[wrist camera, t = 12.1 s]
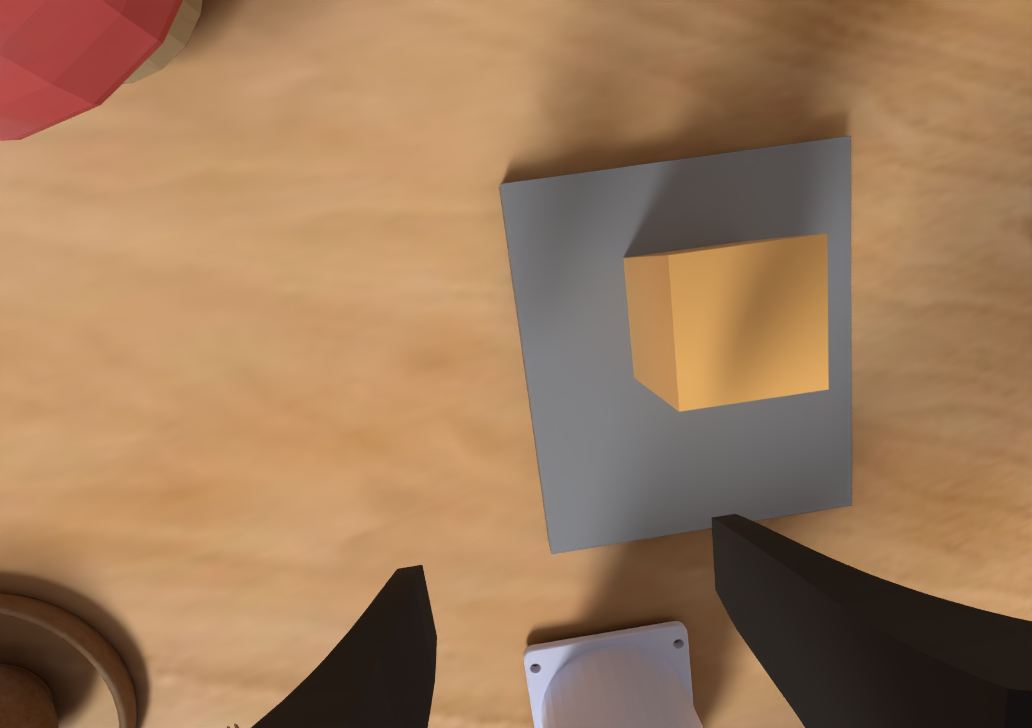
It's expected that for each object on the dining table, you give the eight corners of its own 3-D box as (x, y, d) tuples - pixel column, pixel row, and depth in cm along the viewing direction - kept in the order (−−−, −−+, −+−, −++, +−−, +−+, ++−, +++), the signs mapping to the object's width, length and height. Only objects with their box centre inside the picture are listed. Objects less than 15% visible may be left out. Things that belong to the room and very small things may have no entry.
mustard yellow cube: (749, 360, 21) (828, 389, 16) (633, 377, 21) (679, 411, 16) (744, 241, 20) (827, 233, 15) (623, 257, 20) (668, 255, 15)
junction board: (836, 495, 24) (916, 547, 19) (548, 542, 23) (563, 606, 19) (833, 142, 21) (927, 108, 16) (499, 187, 20) (503, 166, 16)
